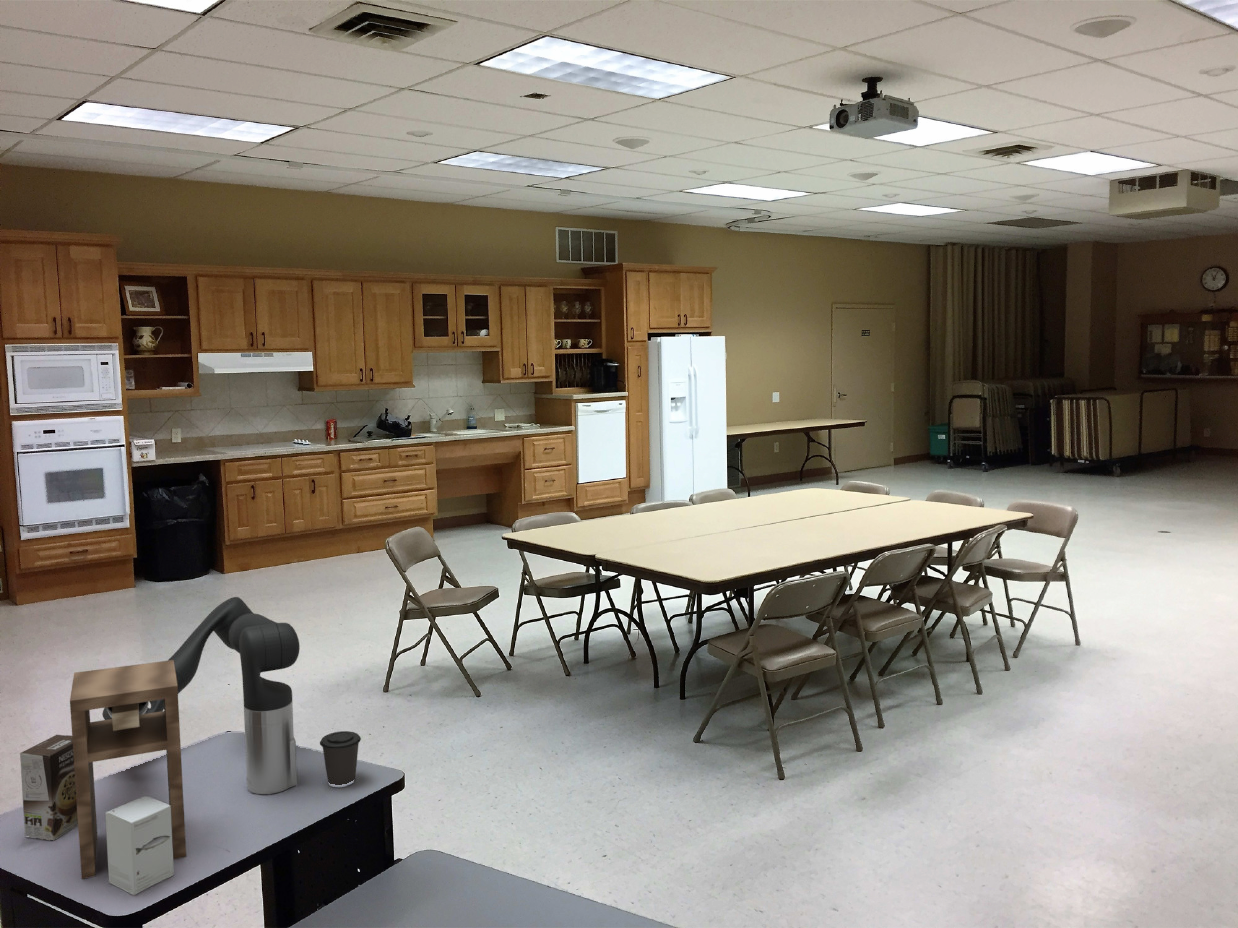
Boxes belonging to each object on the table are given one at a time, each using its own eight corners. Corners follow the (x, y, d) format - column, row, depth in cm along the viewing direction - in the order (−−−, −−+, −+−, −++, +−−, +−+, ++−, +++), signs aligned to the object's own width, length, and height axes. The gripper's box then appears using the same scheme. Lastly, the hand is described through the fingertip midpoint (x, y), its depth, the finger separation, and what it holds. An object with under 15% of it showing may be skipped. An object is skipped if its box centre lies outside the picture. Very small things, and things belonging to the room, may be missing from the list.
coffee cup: (326, 794, 192) (324, 746, 191) (317, 778, 199) (315, 731, 198) (366, 785, 196) (365, 738, 195) (356, 769, 203) (355, 724, 202)
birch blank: (138, 688, 183) (137, 673, 182) (139, 726, 165) (138, 709, 165) (114, 692, 181) (113, 676, 181) (113, 730, 163) (112, 713, 163)
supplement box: (133, 896, 156) (129, 823, 155) (107, 882, 160) (103, 810, 159) (175, 875, 162) (172, 804, 161) (149, 862, 166) (145, 793, 165)
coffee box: (54, 841, 173) (48, 755, 171) (23, 837, 174) (17, 752, 172) (91, 817, 182) (86, 735, 180) (62, 813, 183) (56, 732, 181)
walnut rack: (181, 818, 182) (173, 659, 178) (186, 856, 168) (177, 685, 165) (84, 837, 174) (74, 672, 171) (81, 878, 161) (69, 700, 157)
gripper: (168, 714, 193) (169, 697, 179) (87, 726, 187) (81, 710, 173) (165, 677, 196) (166, 658, 181) (86, 688, 189) (80, 669, 175)
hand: (125, 683), depth 177 cm, fingers closed on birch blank, 4 cm apart
